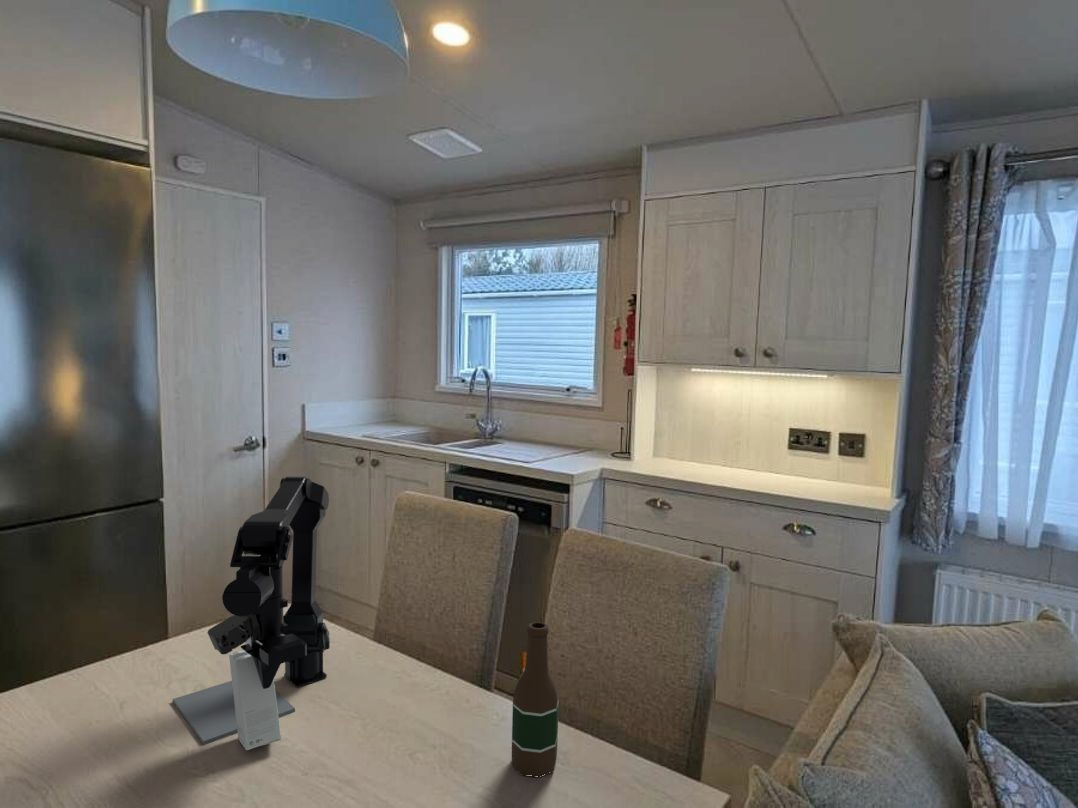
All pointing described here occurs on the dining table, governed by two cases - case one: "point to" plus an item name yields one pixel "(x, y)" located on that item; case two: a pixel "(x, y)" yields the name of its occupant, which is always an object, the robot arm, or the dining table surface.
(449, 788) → the dining table surface
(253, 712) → the skincare box
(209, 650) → the dining table surface
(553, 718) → the beer bottle
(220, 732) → the mat
